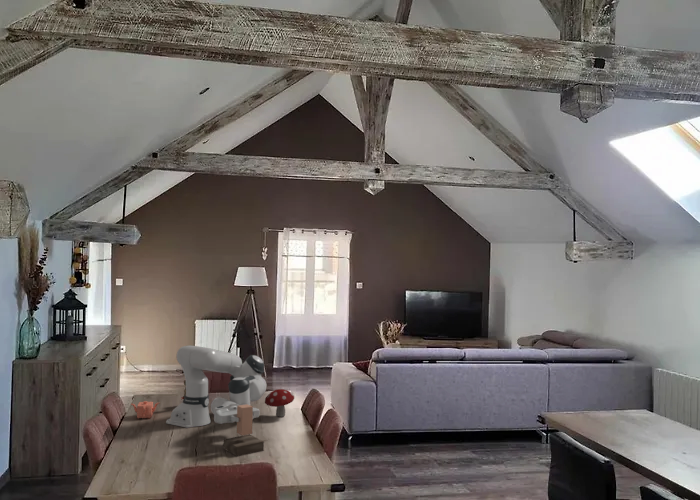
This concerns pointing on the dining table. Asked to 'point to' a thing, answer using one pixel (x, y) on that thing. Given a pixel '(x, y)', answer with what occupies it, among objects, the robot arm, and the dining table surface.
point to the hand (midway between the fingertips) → (245, 418)
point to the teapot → (145, 409)
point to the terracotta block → (244, 419)
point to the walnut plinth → (243, 445)
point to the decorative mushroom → (279, 400)
